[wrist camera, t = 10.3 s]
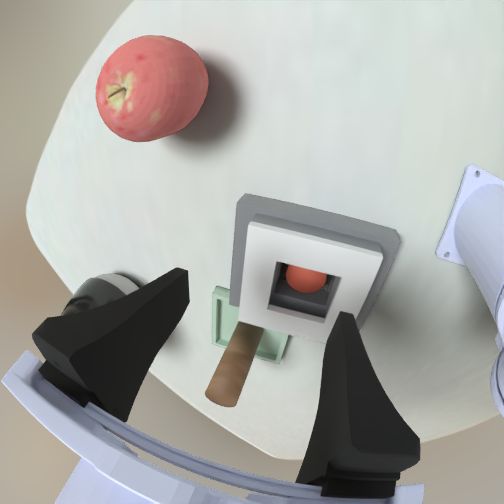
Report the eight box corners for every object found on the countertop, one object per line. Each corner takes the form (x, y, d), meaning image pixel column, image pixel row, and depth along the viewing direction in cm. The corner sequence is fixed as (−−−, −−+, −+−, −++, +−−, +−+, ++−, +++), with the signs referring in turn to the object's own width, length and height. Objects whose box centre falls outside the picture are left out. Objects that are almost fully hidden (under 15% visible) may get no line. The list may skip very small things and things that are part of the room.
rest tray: (296, 307, 25) (294, 316, 24) (281, 356, 30) (279, 364, 29) (216, 285, 27) (211, 293, 26) (215, 336, 31) (211, 344, 30)
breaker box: (395, 229, 19) (405, 257, 16) (356, 321, 24) (355, 353, 21) (245, 193, 21) (226, 213, 18) (236, 291, 27) (221, 319, 23)
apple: (222, 134, 19) (163, 156, 12) (143, 131, 20) (73, 153, 14) (229, 40, 15) (169, 15, 9) (146, 49, 16) (72, 45, 10)
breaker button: (331, 254, 21) (331, 265, 20) (321, 285, 23) (320, 297, 22) (293, 244, 22) (289, 255, 21) (286, 276, 24) (282, 287, 22)
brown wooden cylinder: (268, 327, 27) (241, 402, 20) (255, 340, 29) (228, 409, 22) (245, 313, 27) (212, 386, 20) (233, 326, 29) (200, 395, 21)
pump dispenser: (89, 273, 33) (17, 345, 21) (127, 249, 28) (31, 342, 16) (133, 328, 36) (75, 406, 24) (178, 318, 32) (111, 421, 19)
